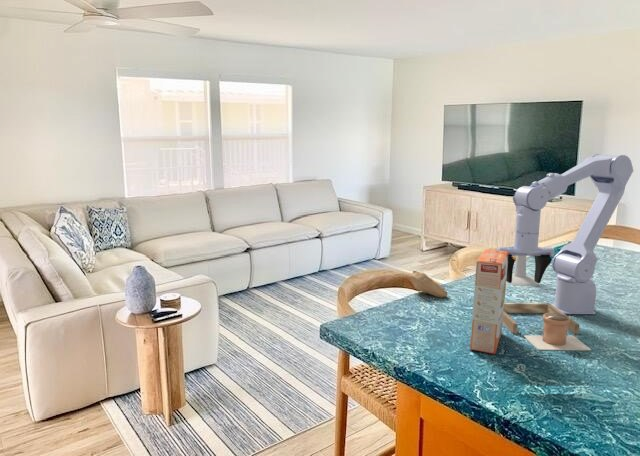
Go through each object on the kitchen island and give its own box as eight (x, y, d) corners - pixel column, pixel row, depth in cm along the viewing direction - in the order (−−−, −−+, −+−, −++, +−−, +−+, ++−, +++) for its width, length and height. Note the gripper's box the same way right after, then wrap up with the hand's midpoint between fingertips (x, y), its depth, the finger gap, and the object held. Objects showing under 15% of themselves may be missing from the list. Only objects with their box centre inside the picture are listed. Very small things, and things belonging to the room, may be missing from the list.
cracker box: (497, 355, 106) (504, 263, 102) (468, 350, 109) (474, 260, 105) (503, 333, 118) (509, 250, 115) (478, 329, 121) (483, 248, 117)
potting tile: (573, 336, 117) (573, 335, 117) (591, 350, 109) (591, 349, 109) (523, 336, 117) (523, 335, 117) (537, 350, 109) (538, 349, 109)
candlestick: (527, 291, 153) (535, 196, 147) (491, 282, 162) (497, 193, 157) (547, 284, 161) (555, 194, 155) (511, 275, 170) (518, 191, 165)
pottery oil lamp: (439, 302, 141) (441, 279, 140) (403, 294, 149) (404, 272, 148) (452, 295, 148) (453, 273, 147) (416, 288, 156) (417, 266, 154)
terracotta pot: (554, 335, 117) (556, 310, 116) (573, 344, 112) (575, 319, 111) (535, 338, 115) (537, 313, 114) (554, 347, 110) (556, 322, 109)
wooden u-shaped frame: (548, 311, 134) (549, 303, 134) (578, 334, 118) (579, 324, 118) (490, 311, 134) (491, 302, 134) (512, 333, 118) (513, 324, 118)
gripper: (547, 229, 131) (543, 277, 133) (494, 229, 131) (490, 277, 133) (560, 234, 124) (555, 285, 126) (503, 234, 124) (500, 285, 126)
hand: (523, 281), depth 129 cm, fingers open, 7 cm apart
